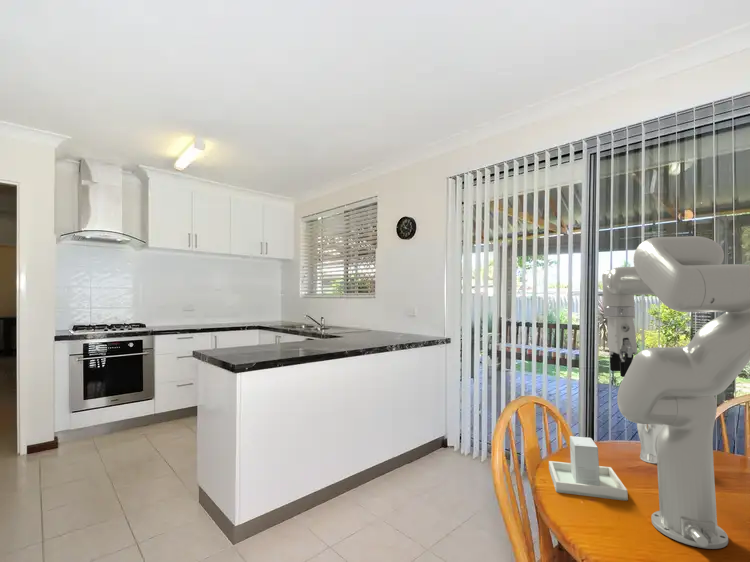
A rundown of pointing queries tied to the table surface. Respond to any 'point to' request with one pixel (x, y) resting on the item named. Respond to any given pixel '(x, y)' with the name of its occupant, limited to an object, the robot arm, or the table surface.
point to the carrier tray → (607, 489)
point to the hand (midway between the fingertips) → (621, 373)
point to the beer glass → (648, 441)
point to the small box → (584, 460)
